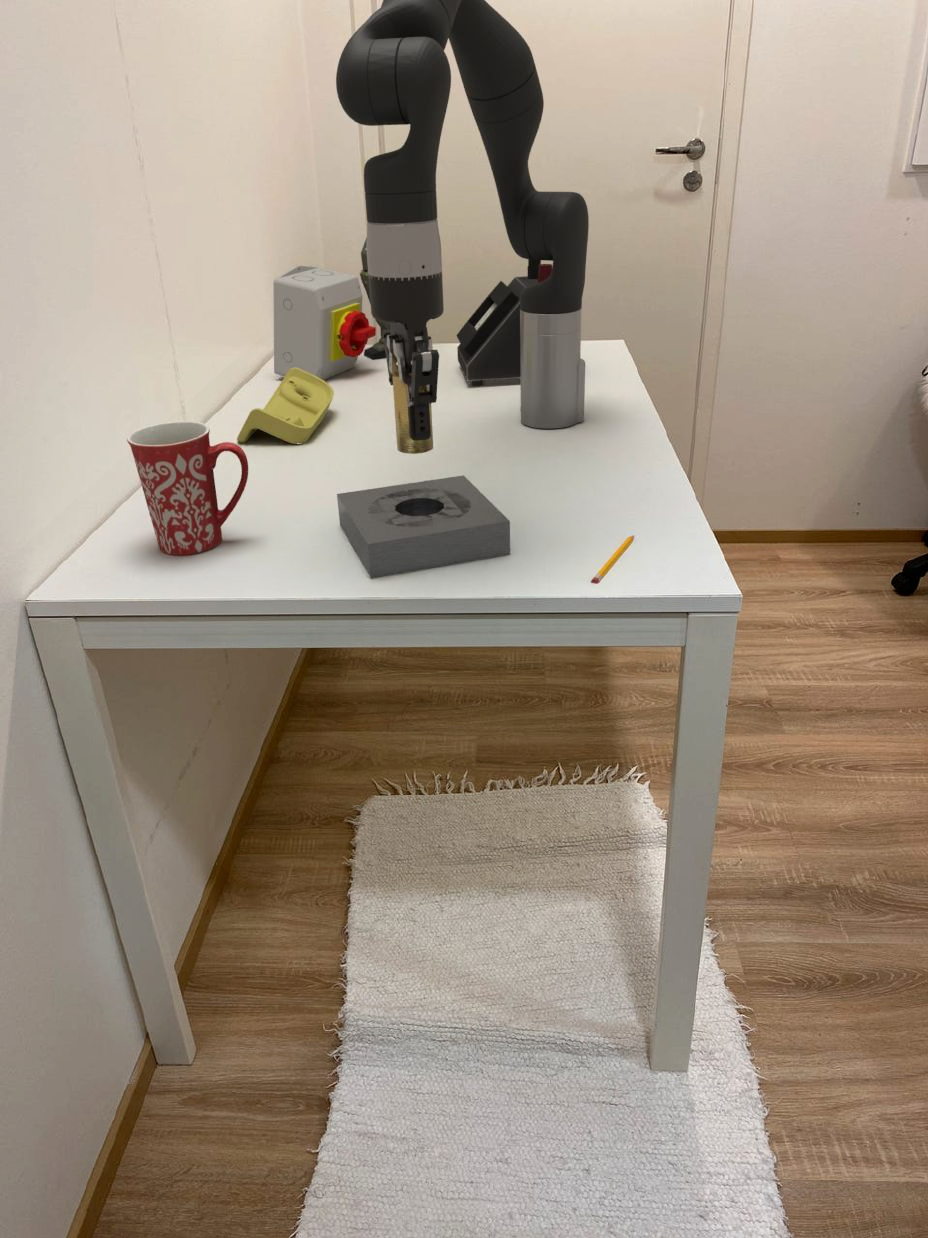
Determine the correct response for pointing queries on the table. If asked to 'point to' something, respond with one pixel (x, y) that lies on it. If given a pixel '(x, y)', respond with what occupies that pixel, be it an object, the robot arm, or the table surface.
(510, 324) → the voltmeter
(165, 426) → the mug
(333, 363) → the electrical switch box
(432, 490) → the jig
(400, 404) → the brass peg
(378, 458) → the table surface
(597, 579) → the pencil
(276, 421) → the plastic component
